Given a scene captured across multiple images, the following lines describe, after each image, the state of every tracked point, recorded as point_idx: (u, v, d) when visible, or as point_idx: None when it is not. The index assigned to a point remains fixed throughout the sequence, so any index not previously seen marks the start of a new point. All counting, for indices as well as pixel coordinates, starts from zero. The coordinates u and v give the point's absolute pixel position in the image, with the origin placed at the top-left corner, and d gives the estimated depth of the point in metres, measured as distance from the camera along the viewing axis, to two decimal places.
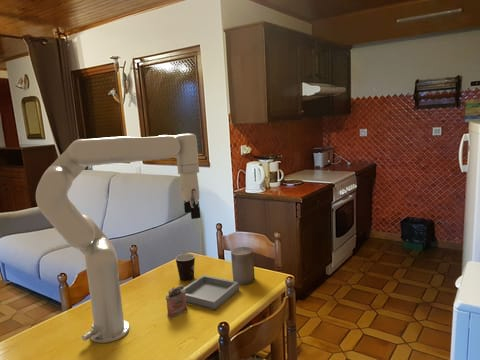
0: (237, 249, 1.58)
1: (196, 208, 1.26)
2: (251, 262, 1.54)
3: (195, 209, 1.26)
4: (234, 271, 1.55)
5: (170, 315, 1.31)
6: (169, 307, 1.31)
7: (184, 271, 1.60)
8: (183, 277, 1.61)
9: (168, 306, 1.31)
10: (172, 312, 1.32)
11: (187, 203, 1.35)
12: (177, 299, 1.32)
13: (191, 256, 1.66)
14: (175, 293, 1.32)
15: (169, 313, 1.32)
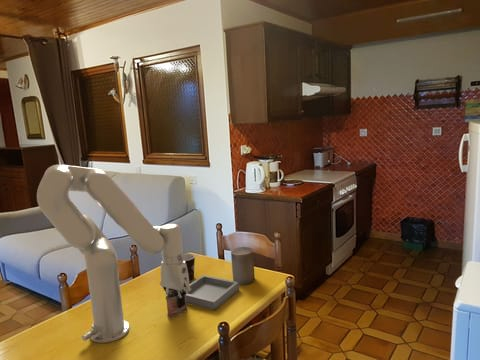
0: (237, 249, 1.58)
1: None
2: (251, 262, 1.54)
3: None
4: (234, 271, 1.55)
5: (170, 315, 1.31)
6: (169, 307, 1.31)
7: None
8: None
9: (168, 306, 1.31)
10: (172, 312, 1.32)
11: None
12: (177, 299, 1.32)
13: (191, 256, 1.66)
14: (175, 293, 1.32)
15: (169, 313, 1.32)
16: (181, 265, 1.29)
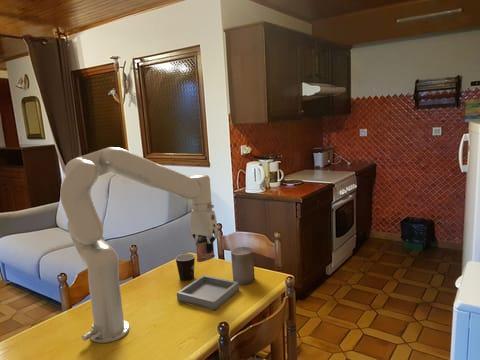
0: (237, 249, 1.58)
1: None
2: (251, 262, 1.54)
3: None
4: (234, 271, 1.55)
5: (200, 260, 1.41)
6: (199, 252, 1.40)
7: (184, 271, 1.60)
8: (183, 277, 1.61)
9: (198, 251, 1.41)
10: (202, 257, 1.41)
11: None
12: (206, 245, 1.42)
13: (191, 256, 1.66)
14: (204, 239, 1.42)
15: (199, 258, 1.41)
16: (210, 212, 1.38)
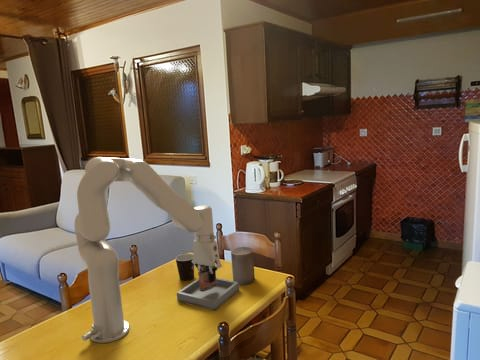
0: (237, 249, 1.58)
1: None
2: (251, 262, 1.54)
3: None
4: (234, 271, 1.55)
5: (202, 289, 1.43)
6: (201, 281, 1.43)
7: (184, 271, 1.60)
8: (183, 277, 1.61)
9: (200, 281, 1.43)
10: (204, 286, 1.43)
11: None
12: (208, 274, 1.44)
13: (191, 256, 1.66)
14: (206, 269, 1.44)
15: (201, 287, 1.43)
16: (213, 243, 1.40)
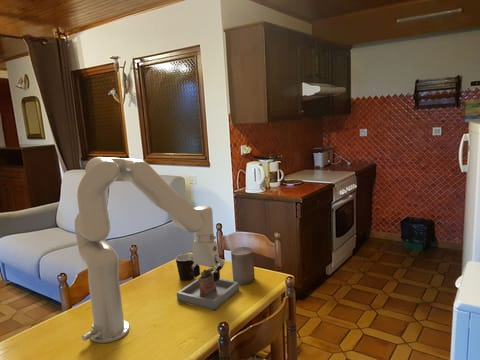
0: (237, 249, 1.58)
1: None
2: (251, 262, 1.54)
3: None
4: (234, 271, 1.55)
5: (203, 295, 1.43)
6: (202, 287, 1.43)
7: (184, 271, 1.60)
8: (183, 277, 1.61)
9: (201, 287, 1.43)
10: (205, 292, 1.43)
11: None
12: (209, 280, 1.44)
13: None
14: (207, 275, 1.44)
15: (202, 293, 1.43)
16: (212, 243, 1.40)
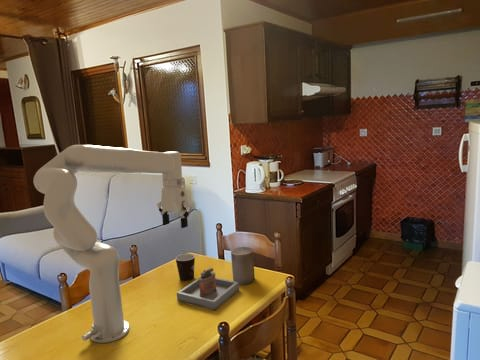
0: (237, 249, 1.58)
1: None
2: (251, 262, 1.54)
3: None
4: (234, 271, 1.55)
5: (203, 295, 1.43)
6: (202, 287, 1.43)
7: (184, 271, 1.60)
8: (183, 277, 1.61)
9: (201, 287, 1.43)
10: (205, 292, 1.43)
11: None
12: (209, 280, 1.44)
13: (191, 256, 1.66)
14: (207, 275, 1.44)
15: (202, 293, 1.43)
16: (180, 188, 1.38)
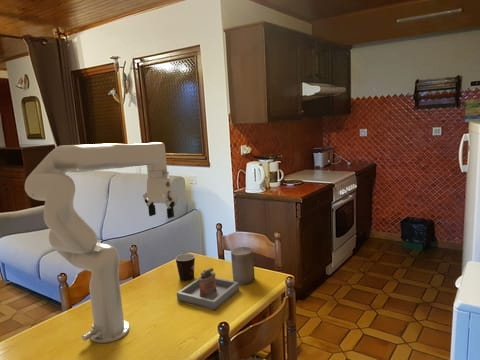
0: (237, 249, 1.58)
1: None
2: (251, 262, 1.54)
3: None
4: (234, 271, 1.55)
5: (203, 295, 1.43)
6: (202, 287, 1.43)
7: (184, 271, 1.60)
8: (183, 277, 1.61)
9: (201, 287, 1.43)
10: (205, 292, 1.43)
11: None
12: (209, 280, 1.44)
13: (191, 256, 1.66)
14: (207, 275, 1.44)
15: (202, 293, 1.43)
16: (165, 179, 1.39)
